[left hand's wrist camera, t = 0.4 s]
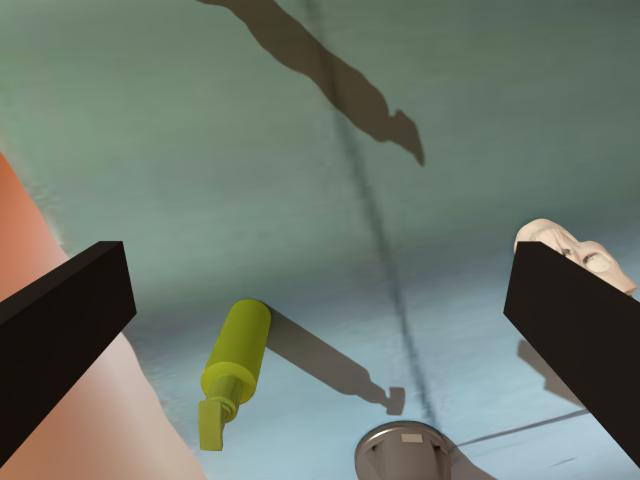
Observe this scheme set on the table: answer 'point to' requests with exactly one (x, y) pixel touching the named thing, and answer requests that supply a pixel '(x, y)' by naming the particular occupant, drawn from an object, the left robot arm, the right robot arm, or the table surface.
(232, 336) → the soap dispenser
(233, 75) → the table surface
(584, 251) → the skull bowl
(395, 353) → the table surface
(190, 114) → the table surface
